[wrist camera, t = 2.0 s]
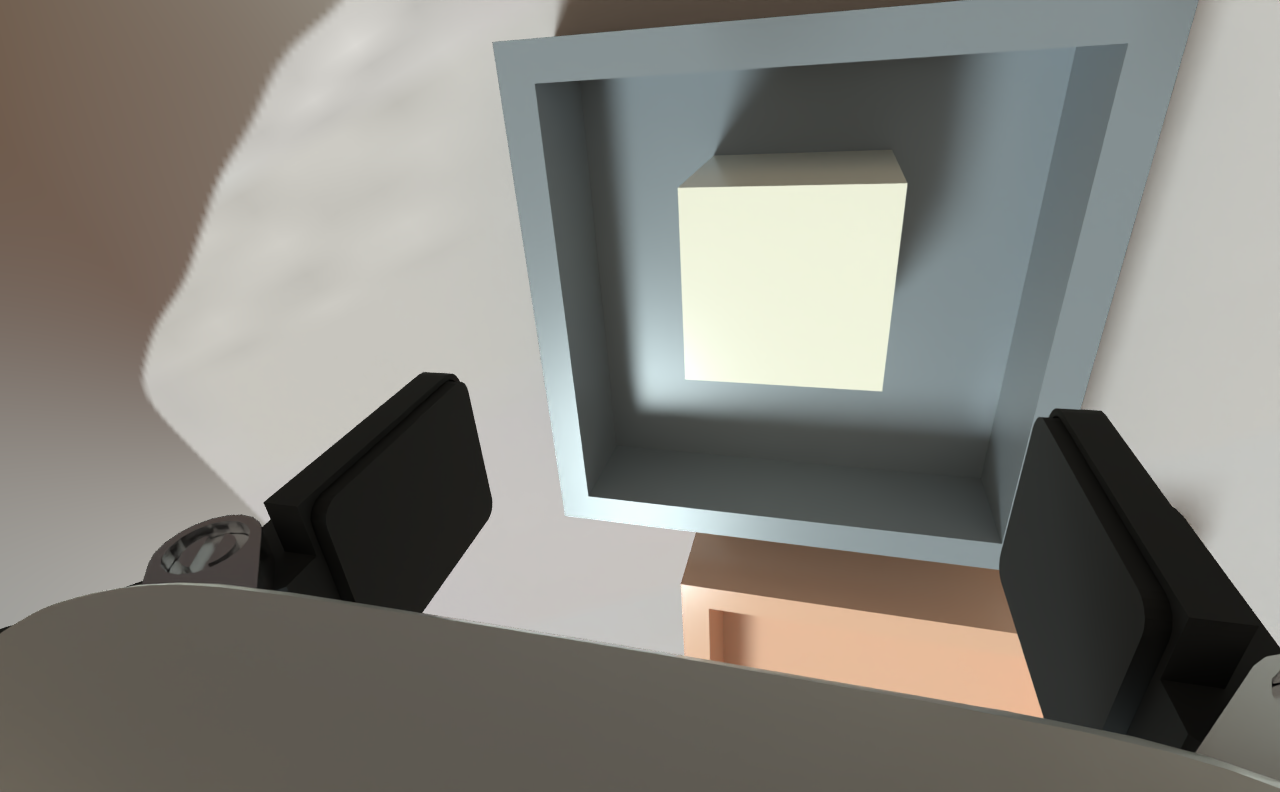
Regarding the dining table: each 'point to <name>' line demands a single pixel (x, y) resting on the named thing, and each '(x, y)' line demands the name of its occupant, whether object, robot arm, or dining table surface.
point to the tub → (856, 620)
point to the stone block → (790, 267)
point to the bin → (926, 272)
